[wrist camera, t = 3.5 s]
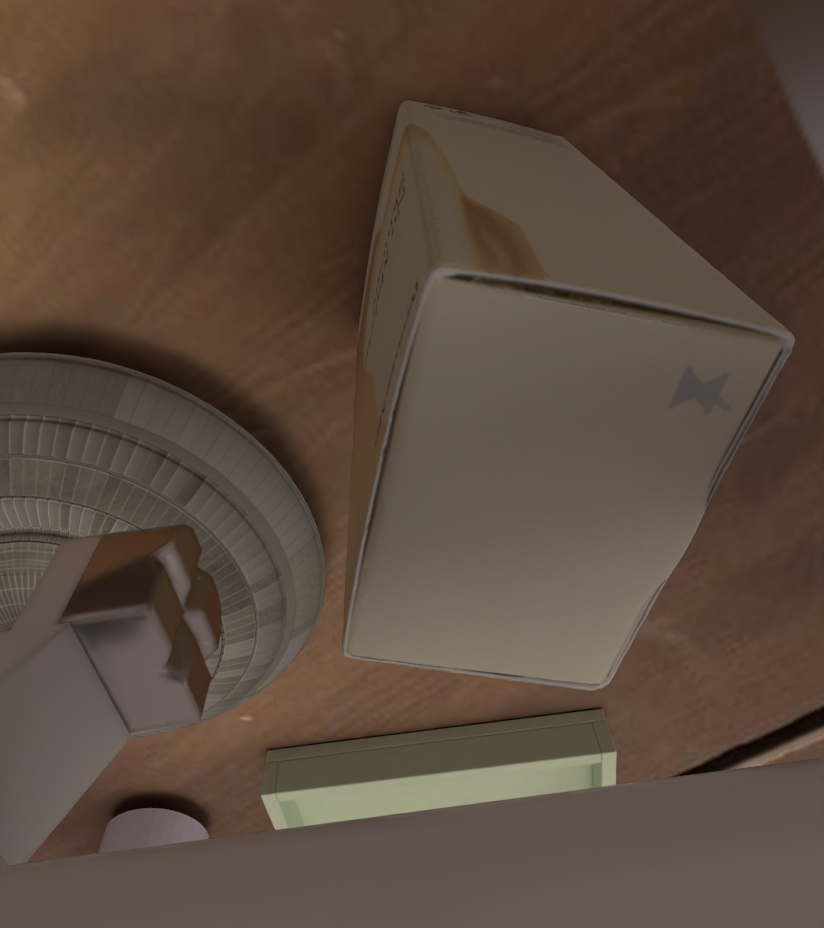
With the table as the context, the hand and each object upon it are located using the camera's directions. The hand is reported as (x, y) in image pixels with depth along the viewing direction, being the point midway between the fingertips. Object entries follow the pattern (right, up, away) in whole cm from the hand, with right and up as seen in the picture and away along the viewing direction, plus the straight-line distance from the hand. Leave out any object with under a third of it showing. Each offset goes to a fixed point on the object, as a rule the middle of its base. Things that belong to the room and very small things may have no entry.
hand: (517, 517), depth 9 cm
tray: (+1, -16, +25) cm, 30 cm away
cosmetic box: (0, +7, +10) cm, 12 cm away
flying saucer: (-12, -2, +15) cm, 19 cm away
